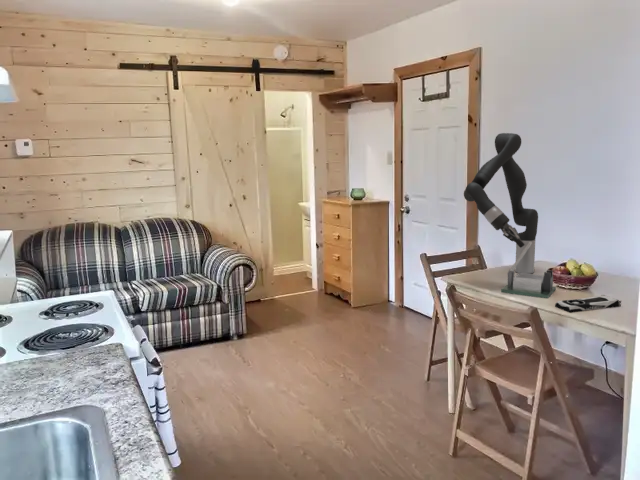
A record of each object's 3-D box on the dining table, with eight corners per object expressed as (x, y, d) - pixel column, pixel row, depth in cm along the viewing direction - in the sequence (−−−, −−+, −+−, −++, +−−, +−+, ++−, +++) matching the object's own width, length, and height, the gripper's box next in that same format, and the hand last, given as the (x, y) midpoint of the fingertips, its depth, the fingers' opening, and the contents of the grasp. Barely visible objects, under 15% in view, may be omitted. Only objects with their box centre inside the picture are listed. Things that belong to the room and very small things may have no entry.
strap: (510, 274, 249) (507, 271, 249) (512, 272, 251) (509, 270, 251) (531, 244, 241) (528, 242, 242) (532, 243, 244) (529, 241, 244)
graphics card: (621, 300, 220) (569, 306, 214) (621, 308, 221) (569, 314, 214) (602, 293, 230) (552, 299, 223) (602, 301, 230) (552, 307, 224)
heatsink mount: (501, 292, 246) (501, 270, 244) (510, 284, 259) (511, 264, 257) (547, 298, 235) (548, 275, 233) (555, 289, 248) (556, 268, 246)
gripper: (498, 214, 242) (525, 243, 238) (506, 210, 253) (532, 238, 248) (486, 225, 246) (512, 254, 241) (494, 221, 257) (520, 249, 252)
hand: (522, 246), depth 245 cm, fingers closed
